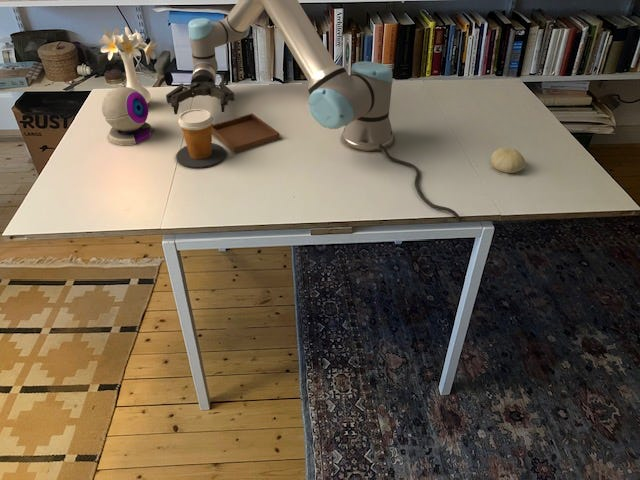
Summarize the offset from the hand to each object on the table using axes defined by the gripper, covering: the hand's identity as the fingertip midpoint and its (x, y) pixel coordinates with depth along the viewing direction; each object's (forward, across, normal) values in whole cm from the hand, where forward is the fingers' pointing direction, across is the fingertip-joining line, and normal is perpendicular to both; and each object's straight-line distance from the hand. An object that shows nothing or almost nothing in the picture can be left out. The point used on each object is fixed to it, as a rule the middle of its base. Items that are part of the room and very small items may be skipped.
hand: (198, 109), depth 158 cm
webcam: (-6, +22, -11) cm, 25 cm away
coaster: (+9, 0, -10) cm, 14 cm away
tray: (-3, -12, -10) cm, 16 cm away
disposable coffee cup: (+9, 0, -10) cm, 13 cm away
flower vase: (-27, +23, -10) cm, 37 cm away
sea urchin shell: (+23, -86, -11) cm, 90 cm away
